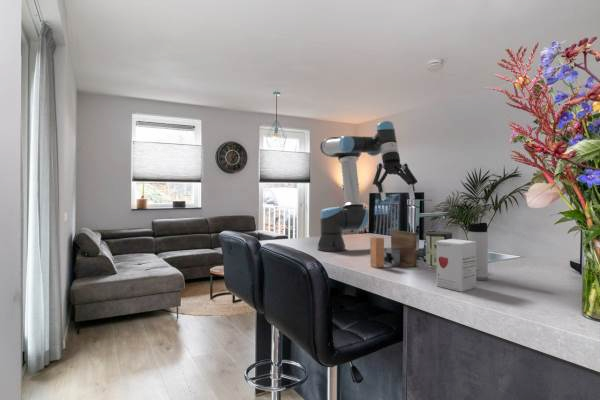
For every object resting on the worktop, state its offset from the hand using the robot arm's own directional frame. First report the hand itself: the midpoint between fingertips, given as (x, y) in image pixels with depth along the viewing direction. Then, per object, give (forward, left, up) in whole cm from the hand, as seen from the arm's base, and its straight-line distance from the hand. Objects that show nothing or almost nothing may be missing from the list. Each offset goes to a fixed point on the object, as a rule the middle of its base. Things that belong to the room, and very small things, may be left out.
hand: (398, 199), depth 154 cm
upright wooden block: (+6, -4, -28) cm, 28 cm away
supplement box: (+29, +27, -28) cm, 48 cm away
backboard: (0, +1, -28) cm, 28 cm away
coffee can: (-3, +16, -28) cm, 32 cm away
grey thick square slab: (+3, -2, -28) cm, 28 cm away
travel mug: (+13, +32, -28) cm, 44 cm away
